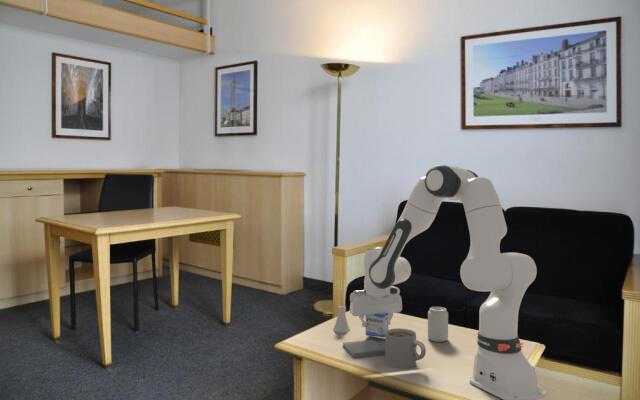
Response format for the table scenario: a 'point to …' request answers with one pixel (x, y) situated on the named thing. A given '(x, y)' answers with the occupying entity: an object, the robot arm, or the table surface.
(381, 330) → the medicine box
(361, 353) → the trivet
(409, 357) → the coffee mug
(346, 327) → the flask
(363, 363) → the table surface
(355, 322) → the table surface
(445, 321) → the can
